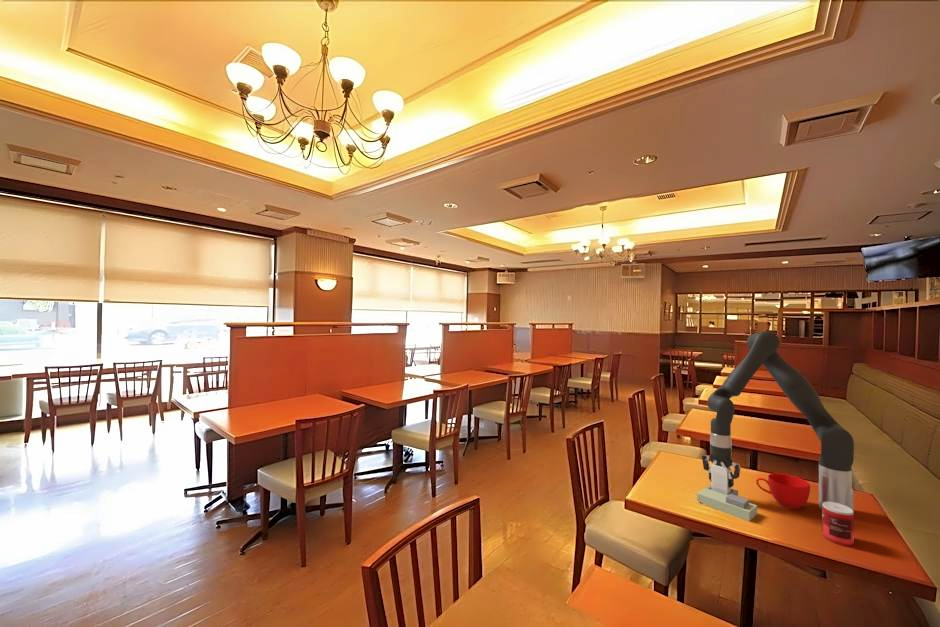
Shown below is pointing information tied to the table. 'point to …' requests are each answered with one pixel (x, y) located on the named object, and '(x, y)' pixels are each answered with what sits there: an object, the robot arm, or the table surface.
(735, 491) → the green base with arch
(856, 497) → the table surface
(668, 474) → the table surface
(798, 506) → the ceramic cup
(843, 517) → the canned food
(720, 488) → the skincare box
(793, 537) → the table surface
